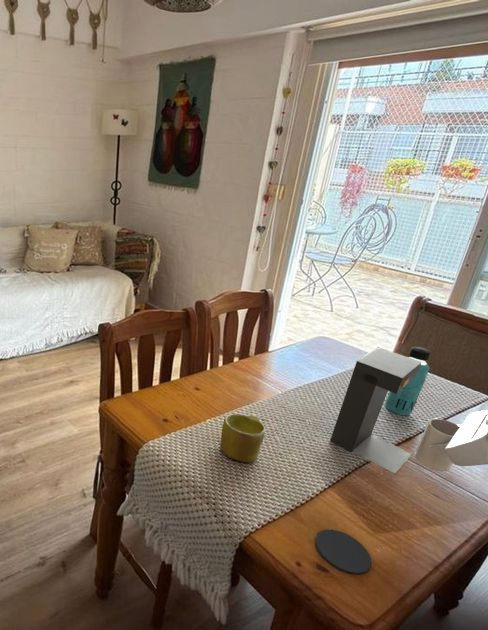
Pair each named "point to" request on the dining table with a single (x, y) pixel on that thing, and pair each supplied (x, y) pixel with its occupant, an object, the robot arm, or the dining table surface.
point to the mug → (242, 437)
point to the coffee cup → (433, 434)
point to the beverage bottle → (410, 386)
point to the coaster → (343, 551)
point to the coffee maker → (373, 406)
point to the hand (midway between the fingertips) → (436, 442)
